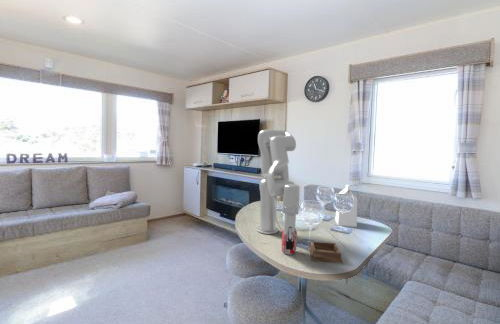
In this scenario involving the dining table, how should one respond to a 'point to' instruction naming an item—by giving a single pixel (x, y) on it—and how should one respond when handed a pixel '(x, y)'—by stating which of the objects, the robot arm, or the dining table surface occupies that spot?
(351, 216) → the milk
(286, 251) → the soda can
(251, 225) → the dining table surface
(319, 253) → the brown wooden tray
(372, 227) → the dining table surface
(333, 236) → the dining table surface
